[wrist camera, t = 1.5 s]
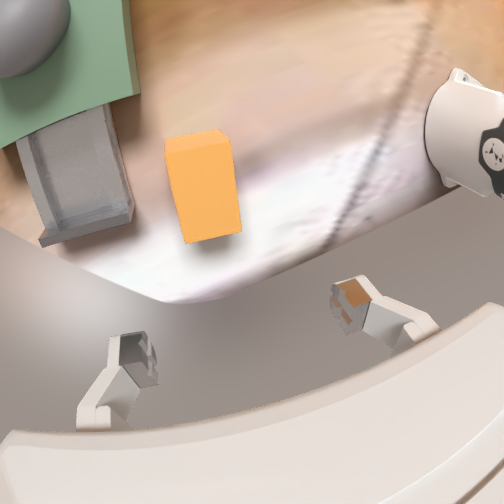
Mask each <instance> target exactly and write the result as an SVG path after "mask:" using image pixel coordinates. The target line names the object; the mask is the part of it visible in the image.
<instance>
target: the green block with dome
mask: <svg viewBox="0 0 504 504" xmlns="http://www.w3.org/2000/svg"><path fill="white" fill-rule="evenodd" d="M139 93H141V90H140V84H139V78H138V71H137V64H136V57H135V50H134V42H133V34H132V25H131V15H130V3H129V0H0V149H1V148H3V147H5V146H7V145H8V144H10V143H12V142H14V141H16V140H18V139H19V140H20V139H22V138H24V137H26V136H28V135H30V134H32V133H34V132H36V131H39V130H41V129H43V128H45V127H47V126H50V125H52V124H54V123H57V122H59V121H62V120H64V119H67V118H69V117H72V116H74V115H77V114H80V113H82V112H85V111H86V110H87V109H90V108H93V107H96V106H99V105H102V104H105V103H108V102H111V101H115V100H118V99H121V98H125V97H128V96H132V95H136V94H139Z"/></svg>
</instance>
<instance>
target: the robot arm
mask: <svg viewBox="0 0 504 504" xmlns="http://www.w3.org/2000/svg"><path fill="white" fill-rule="evenodd" d="M425 140H426V148H427V152H428V155H429V158H430V160H431V162H432V164H433V165H434V166H435V168H436V169H437V170H438V171H439V173H440V175H441V179H442V183H443V185H444V186H446V187H448V188H451V187H453V186H456V185H458V184H459V185H461V186H463V187H465V188H467V189H469V190H471V191H473V192H475V193H477V194H479V195H481V196H483V197H487V196H490V195H492V194H494V193H496V194H497V195H498V196H499V197H501V198H502V199H503V200H504V94H503V93H501V92H499V91H496V90H495V91H493V90H490V89H487V88H485V87H484V86H483V85H482V84H480V83H479V82H478V81H476V80H475V79H474V78H472V77H471V76H470V75H468V74H467V73H466V72H464V71H463V70H461V69H458V68H454V69H453V70H452V72H451V74H450V77H449V79H448V81H447V82H446V83H445V84H444V85H442V86H441V87H440V88H439V89H438V90H437V92H436V93H435V95H434V97H433V98H432V101H431V103H430V106H429V109H428V113H427V117H426V125H425ZM331 291H332V292H333V295H332V296H331V298H330V308H331V311H332V313H333V315H334V316H335V318H337V319H339V320H340V326H341V328H342V329H343V331H344V332H345V334H346V335H348V334H351V333H353V332H357V331H359V330H362V329H363V331H365V332H366V333H368V334H370V335H371V336H373V337H375V338H376V339H378V340H380V341H381V342H383V343H385V344H386V345H388V346H390V347H391V348H393V351H392V353H391V355H390V358H389V359H387V360H385V361H383V362H381V363H379V364H376V365H374V366H372V367H370V368H367V369H365V370H363V371H361V372H358V373H356V374H353V375H351V376H349V377H346V378H344V379H341V380H338V381H336V382H333V383H331V384H328V385H326V386H323V387H320V388H317V389H314V390H312V391H309V392H306V393H303V394H300V395H297V396H294V397H291V398H288V399H284V400H281V401H278V402H274V403H271V404H267V405H264V406H260V407H256V408H253V409H249V410H245V411H241V412H237V413H233V414H228V415H224V416H219V417H215V418H210V419H205V420H200V421H195V422H189V423H182V424H176V425H169V426H162V427H154V428H146V429H136V430H135V429H134V428H133V427H131V426H130V425H129V424H128V423H127V422H126V419H127V417H128V415H129V413H130V410H131V408H132V406H133V404H134V402H135V400H136V397H137V395H138V394H139V392H140V388H145V387H151V386H156V385H158V374H157V371H156V369H155V368H154V367H155V366H156V364H157V359H156V354H155V350H154V347H153V345H152V343H150V342H148V337H147V335H146V333H145V331H140V332H134V333H128V334H122V335H116V336H111V338H110V341H109V351H108V362H107V368H104V369H103V370H102V372H101V374H100V375H99V376H98V378H97V379H96V381H95V382H94V383H93V385H92V386H91V388H90V389H89V391H88V392H87V393H86V395H85V396H84V398H83V399H82V401H81V402H80V404H79V405H78V407H77V422H76V432H50V431H33V430H24V429H14V430H12V431H11V432H10V433H9V434H8V435H7V437H6V438H5V439H4V440H3V442H2V443H1V444H0V504H504V307H503V306H500V305H498V304H495V303H492V302H487V303H484V304H483V305H481V306H480V307H478V308H477V309H475V310H474V311H472V312H471V313H469V314H468V315H466V316H465V317H463V318H461V319H460V320H458V321H457V322H455V323H453V324H452V325H450V326H448V327H447V328H445V329H444V330H441V329H440V328H439V327H438V326H437V324H436V323H435V322H434V321H433V319H432V318H431V317H430V316H429V315H428V314H427V313H426V312H423V311H421V310H418V309H416V308H414V307H411V306H409V305H406V304H404V303H401V302H399V301H397V300H394V299H391V298H389V297H387V296H384V297H382V295H381V294H380V293H379V292H378V291H377V289H376V288H375V287H374V286H373V285H372V284H371V283H370V281H369V280H368V279H367V278H366V277H365V276H364V275H360V276H356V277H353V278H350V279H347V280H343V281H340V282H337V283H334V284H333V285H332V288H331Z"/></svg>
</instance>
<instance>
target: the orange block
mask: <svg viewBox="0 0 504 504" xmlns="http://www.w3.org/2000/svg"><path fill="white" fill-rule="evenodd" d="M164 156H165V160H166V165H167V170H168V174H169V179H170V183H171V188H172V192H173V197H174V201H175V205H176V209H177V213H178V217H179V222H180V226H181V230H182V233H183V237H184V241H185V244H188V243H193V242H197V241H202V240H206V239H211V238H215V237H220V236H224V235H229V234H233V233H238V232H242V228H241V220H240V213H239V205H238V197H237V189H236V181H235V173H234V165H233V157H232V149H231V141H230V140H229V139H228V138H227V137H226V136H225V135H224V134H223V133H222V132H221V131H220V130H219V129H217V130H211V131H206V132H200V133H195V134H190V135H185V136H180V137H176V138H171V139H167V140H166V145H165V153H164Z"/></svg>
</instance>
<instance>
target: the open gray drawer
mask: <svg viewBox="0 0 504 504" xmlns="http://www.w3.org/2000/svg"><path fill="white" fill-rule="evenodd" d="M15 142H16V145H17V149H18V153H19V156H20V160H21V163H22V166H23V169H24V173H25V176H26V179H27V182H28V185H29V187H30V190H31V193H32V196H33V198H34V201H35V204H36V206H37V209H38V211H39V214H40V216H41V219H42V221H43V223H44V226H45V230H44V231H43V233H42V234H41V236H40V238H39V239H38V240H39V242H40V244H41V246H42V248H43V247H47V246H50V245H53V244H56V243H59V242H63V241H66V240H69V239H73V238H76V237H80V236H83V235H86V234H90V233H93V232H97V231H101V230H104V229H108V228H112V227H115V226H119V225H123V224H127V223H131V219H132V215H133V211H134V207H135V204H134V200H133V197H132V193H131V190H130V186H129V183H128V179H127V175H126V172H125V168H124V164H123V160H122V156H121V152H120V148H119V144H118V139H117V135H116V130H115V126H114V121H113V116H112V111H111V106H110V102H108V103H105V104H102V105H99V106H96V107H93V108H90V109H87V110H86V111H85V112H82V113H80V114H77V115H74V116H72V117H69V118H67V119H64V120H62V121H59V122H57V123H54V124H52V125H50V126H47V127H45V128H43V129H41V130H39V131H36V132H34V133H32V134H30V135H28V136H26V137H24V138H22V139H20V140H19V139H18V140H16V141H15Z"/></svg>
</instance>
